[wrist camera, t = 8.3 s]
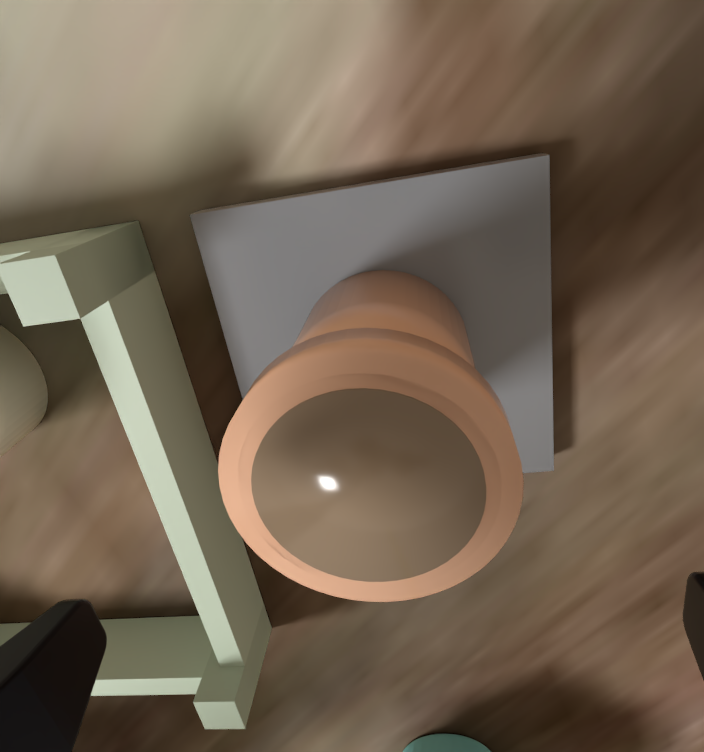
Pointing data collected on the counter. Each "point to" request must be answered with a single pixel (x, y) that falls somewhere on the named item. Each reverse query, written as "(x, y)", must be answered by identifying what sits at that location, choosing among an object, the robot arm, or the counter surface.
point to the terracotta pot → (374, 448)
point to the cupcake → (445, 744)
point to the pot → (19, 391)
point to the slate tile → (404, 254)
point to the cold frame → (153, 470)
